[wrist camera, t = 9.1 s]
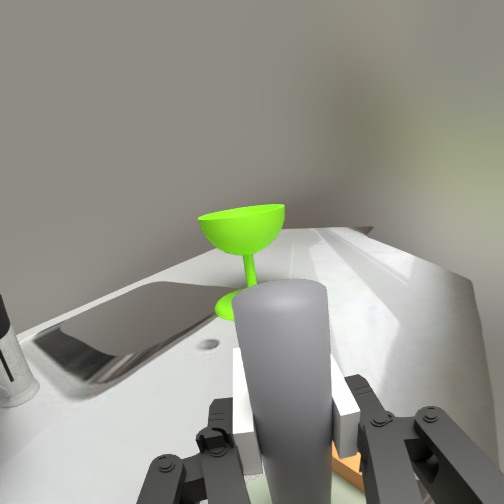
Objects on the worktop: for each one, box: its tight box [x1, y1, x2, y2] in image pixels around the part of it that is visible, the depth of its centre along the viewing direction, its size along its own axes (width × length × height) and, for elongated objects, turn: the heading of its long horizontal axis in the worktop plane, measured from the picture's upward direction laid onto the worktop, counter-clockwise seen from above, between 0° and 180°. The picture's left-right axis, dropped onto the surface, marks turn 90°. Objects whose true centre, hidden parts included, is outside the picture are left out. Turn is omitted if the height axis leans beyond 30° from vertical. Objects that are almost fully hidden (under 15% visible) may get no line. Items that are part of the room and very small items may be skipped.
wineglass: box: [198, 204, 285, 321], centre depth 61 cm, size 16×16×18 cm
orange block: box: [332, 440, 365, 492], centre depth 17 cm, size 6×5×4 cm
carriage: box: [231, 279, 366, 504], centre depth 12 cm, size 7×6×16 cm
